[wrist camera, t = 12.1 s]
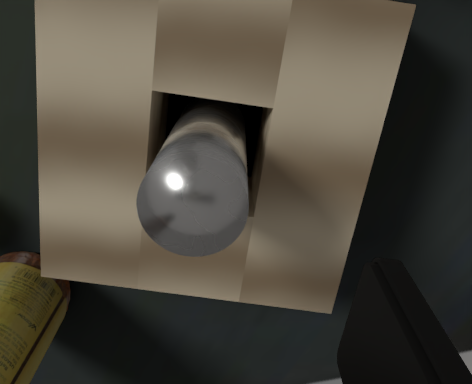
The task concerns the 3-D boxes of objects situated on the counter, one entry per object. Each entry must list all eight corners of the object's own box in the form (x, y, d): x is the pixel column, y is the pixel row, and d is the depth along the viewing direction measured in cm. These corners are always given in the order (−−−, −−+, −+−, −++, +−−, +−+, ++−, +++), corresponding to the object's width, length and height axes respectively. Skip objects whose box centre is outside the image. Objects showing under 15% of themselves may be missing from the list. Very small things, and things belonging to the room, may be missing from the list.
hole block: (82, -41, 24) (33, -58, 18) (376, 6, 24) (416, 4, 19) (78, 226, 30) (40, 276, 24) (314, 258, 30) (331, 313, 25)
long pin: (182, 89, 26) (139, 146, 15) (250, 99, 26) (257, 162, 15) (176, 154, 28) (133, 249, 16) (240, 162, 28) (240, 263, 17)
